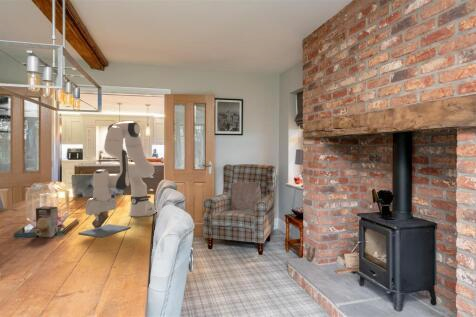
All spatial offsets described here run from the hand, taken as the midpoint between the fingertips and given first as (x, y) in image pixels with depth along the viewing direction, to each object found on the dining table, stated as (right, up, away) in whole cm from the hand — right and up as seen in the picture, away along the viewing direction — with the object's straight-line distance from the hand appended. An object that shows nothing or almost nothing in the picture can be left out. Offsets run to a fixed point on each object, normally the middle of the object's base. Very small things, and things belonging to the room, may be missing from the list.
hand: (101, 219), depth 183 cm
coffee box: (-26, -7, -10) cm, 29 cm away
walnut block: (-4, -4, +2) cm, 6 cm away
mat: (+3, -7, -1) cm, 7 cm away
